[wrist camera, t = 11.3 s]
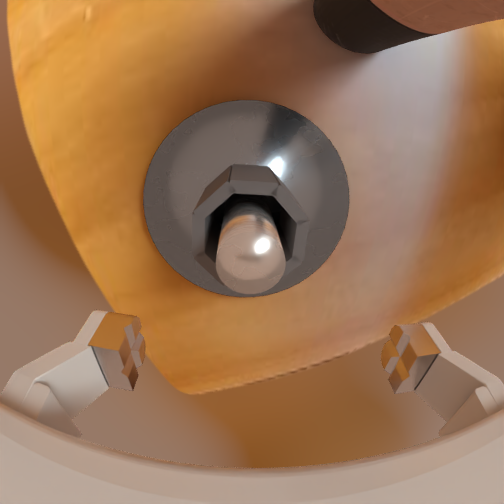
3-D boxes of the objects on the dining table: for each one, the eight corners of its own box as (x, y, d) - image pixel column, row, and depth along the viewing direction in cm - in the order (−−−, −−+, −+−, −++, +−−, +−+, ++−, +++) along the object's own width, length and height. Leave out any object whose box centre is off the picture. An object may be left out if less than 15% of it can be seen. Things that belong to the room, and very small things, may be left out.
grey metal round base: (296, 69, 18) (340, 30, 8) (366, 244, 24) (423, 312, 15) (114, 165, 20) (38, 201, 11) (208, 313, 27) (198, 400, 18)
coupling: (205, 162, 20) (192, 178, 14) (294, 168, 20) (314, 186, 15) (204, 244, 22) (193, 285, 17) (285, 248, 23) (298, 289, 17)
